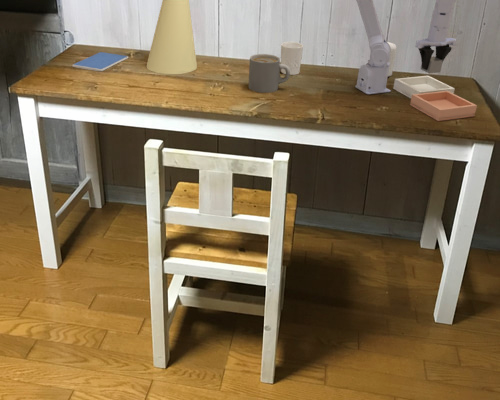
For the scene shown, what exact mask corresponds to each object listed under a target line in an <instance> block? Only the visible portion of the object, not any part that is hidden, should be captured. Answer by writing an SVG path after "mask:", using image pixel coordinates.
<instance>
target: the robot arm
mask: <svg viewBox="0 0 500 400" xmlns="http://www.w3.org/2000/svg"><path fill="white" fill-rule="evenodd" d="M456 1H457V0H435V4H434V8H433V10H432V15H431V21H430V25H429V31H428V34H427V38H424V39H420V40H416V42H415V45H414V46H415V48H417V49H418V52H419V54H420V59H421V64H422V68H423V69H425V70H427V69H428V67H429V63H430V59H431V57H433V54H434V52H435V57H436V58H439V59H441V60H443V62H444V61H445V59H446V57H447V56H448V55H449V53H450V52H452V46H456V42H457V39H456V38H454V37H448V33H449V30H450V29H449V28H450V25H451V24H450V23H451V18H452V15H453V11H452V10H453V9H454V4H455V3H456ZM356 3H357V6H358V10H359V13H360V16H361V20H362V24H363V26H364V29H365V33H366V36H367V40H368V46H369V50H370V53H369V59H370V60H369V59H368V61H367V63H366V64H362V65H361V66H360V67H359V69H358V73H357V74H358V75H357V81H356V85H355V89H358V90H359V91H361V92H363V93H364V94H366V95H374V94H383V93H390V92H392V90H390V89H389V88H387V83H388V77H389V76H388V71H389V65H390V63H389V62H388V61H389V58H390V51H391V48H390V45H389V44H388V43H387V42H388V41H387V40H386V38H385V36H384V33H383V32H382V28H381V25H380V21H379V17H378V14H377V11H376V7H375V4H374V0H356ZM433 47H435V50H434V49H432V48H433ZM443 62H442V64H443Z"/></svg>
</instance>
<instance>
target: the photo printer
mask: <svg viewBox="0 0 500 400" xmlns="http://www.w3.org/2000/svg"><path fill="white" fill-rule="evenodd" d="M386 42H387V43H388V44H389V45H390V48H391V51H390V58H389V61H388V62H389V63H390V65H389V71H388V77H391V76H392V75H393V72H394V71H393V69H394V64H395V59H396V56H397V55H396V53H397V45H396V44H395V43H392V42H389V41H386ZM368 60H370V58H369V59H368Z"/></svg>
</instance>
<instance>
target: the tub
mask: <svg viewBox="0 0 500 400" xmlns="http://www.w3.org/2000/svg"><path fill="white" fill-rule="evenodd" d="M392 88H393V90H395V91H397V92H398V93H401V94H402V95H403V96H406V97H407V98H408V99H411V97H412V95H413V94H421V93H430V92H439V91H449V92H451V93H453V94H455V90H456V89H455V87H453V86H450V85H448V84H447V83H445V82H442V81H440V80H438V79H436V78H434V77H432V76H430V75H422V76H421V75H420V76H411V77H410V76H409V77H400V78H394V83H393V87H392Z"/></svg>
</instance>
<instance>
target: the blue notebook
mask: <svg viewBox="0 0 500 400" xmlns="http://www.w3.org/2000/svg"><path fill="white" fill-rule="evenodd" d="M127 59H129V56H128V55H123V54H117V53H109V52H102V51H100V52H97V53H95V54H93V55H91V56H88V57H86V58H84V59H82V60H80V61H78V62H75V63H73V64H72V65H71V66H72V68H76V69H83V70H89V71H95V72H103V71H106V70H107V69H109V68H111V67H113V66H115V65H118V64H119V63H122V62H123V61H126V60H127Z"/></svg>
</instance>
